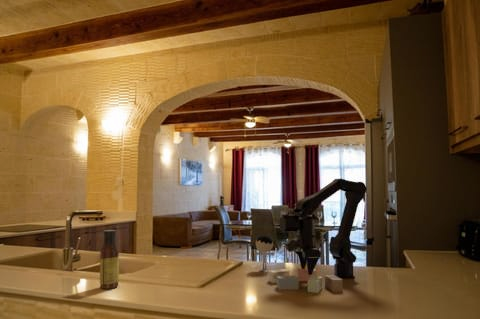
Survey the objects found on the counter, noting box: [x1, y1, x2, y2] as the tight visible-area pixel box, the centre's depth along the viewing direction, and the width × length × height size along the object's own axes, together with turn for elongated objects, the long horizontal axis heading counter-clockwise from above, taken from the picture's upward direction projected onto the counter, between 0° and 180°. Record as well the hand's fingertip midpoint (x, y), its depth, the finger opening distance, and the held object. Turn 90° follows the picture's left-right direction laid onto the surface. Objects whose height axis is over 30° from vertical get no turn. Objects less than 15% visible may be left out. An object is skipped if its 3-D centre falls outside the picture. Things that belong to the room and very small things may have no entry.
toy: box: [254, 234, 275, 270], centre depth 154 cm, size 9×7×15 cm
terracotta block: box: [295, 268, 317, 282], centre depth 135 cm, size 7×4×4 cm, turn 92°
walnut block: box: [324, 274, 344, 293], centre depth 122 cm, size 7×4×4 cm, turn 9°
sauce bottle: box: [99, 229, 120, 290], centre depth 123 cm, size 7×6×20 cm
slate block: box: [276, 275, 300, 291], centre depth 123 cm, size 7×4×4 cm, turn 96°
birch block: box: [268, 268, 290, 284], centre depth 133 cm, size 7×4×4 cm, turn 115°
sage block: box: [307, 275, 323, 294], centre depth 121 cm, size 7×4×4 cm, turn 156°
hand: (306, 272), depth 135 cm, fingers open, 9 cm apart
